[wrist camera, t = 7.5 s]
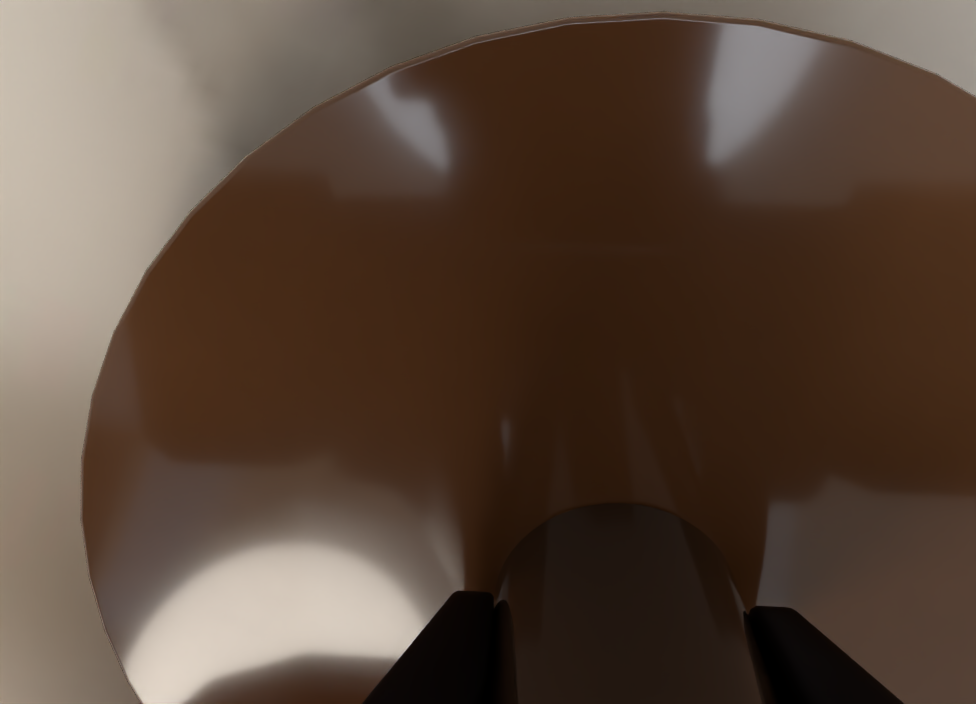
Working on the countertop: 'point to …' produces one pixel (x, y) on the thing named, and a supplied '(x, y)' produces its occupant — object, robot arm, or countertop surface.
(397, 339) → the lid
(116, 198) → the countertop surface
